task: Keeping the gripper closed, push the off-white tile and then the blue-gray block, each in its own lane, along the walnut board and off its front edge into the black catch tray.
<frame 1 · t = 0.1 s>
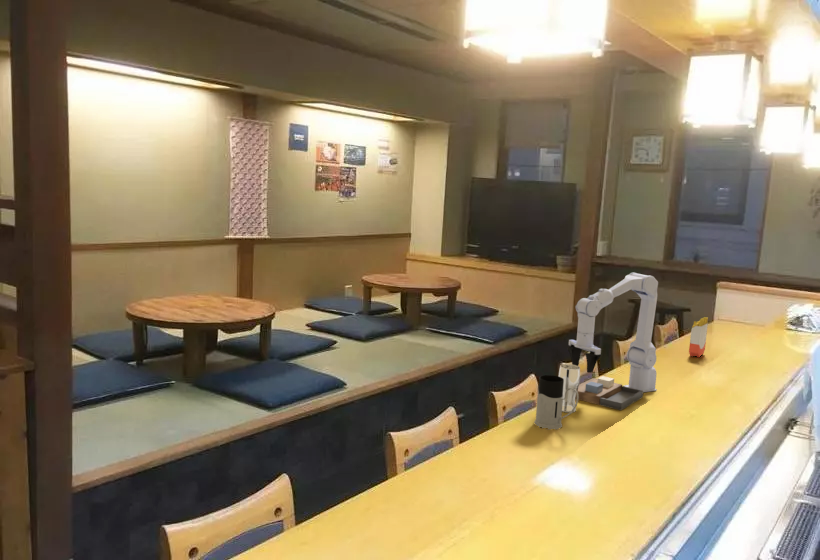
hand: (582, 369, 245), 10 cm above the counter, tool pointing down, fingers open, 7 cm apart
blue-gray block: (593, 390, 244), point 3 cm above the counter, touching walnut board
french fries container: (696, 356, 315), on the counter
catch tray: (621, 401, 243), on the counter
walnut board: (595, 394, 249), on the counter
grey black mug: (555, 427, 214), on the counter
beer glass: (566, 410, 231), on the counter
white tile: (605, 385, 251), point 3 cm above the counter, touching walnut board
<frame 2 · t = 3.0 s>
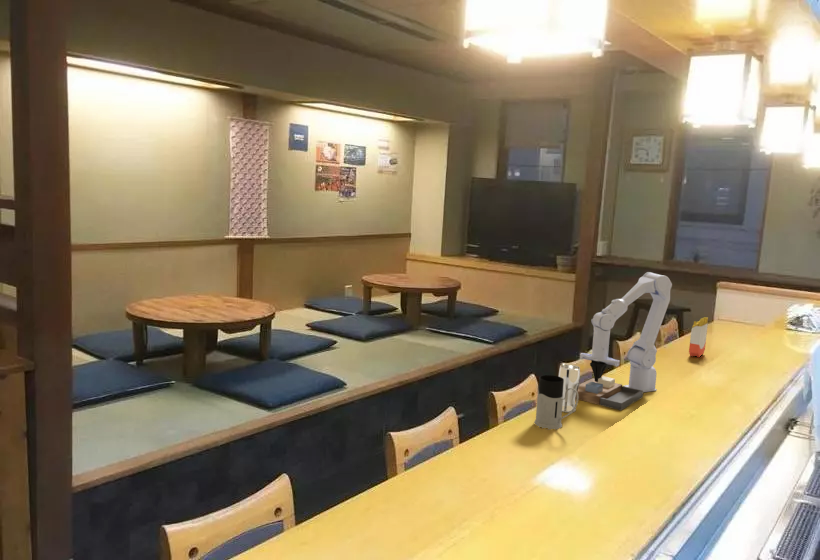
hand: (597, 381, 253), 4 cm above the counter, tool pointing down, fingers closed
white tile: (606, 385, 251), point 3 cm above the counter, touching gripper, walnut board
everything else where it was.
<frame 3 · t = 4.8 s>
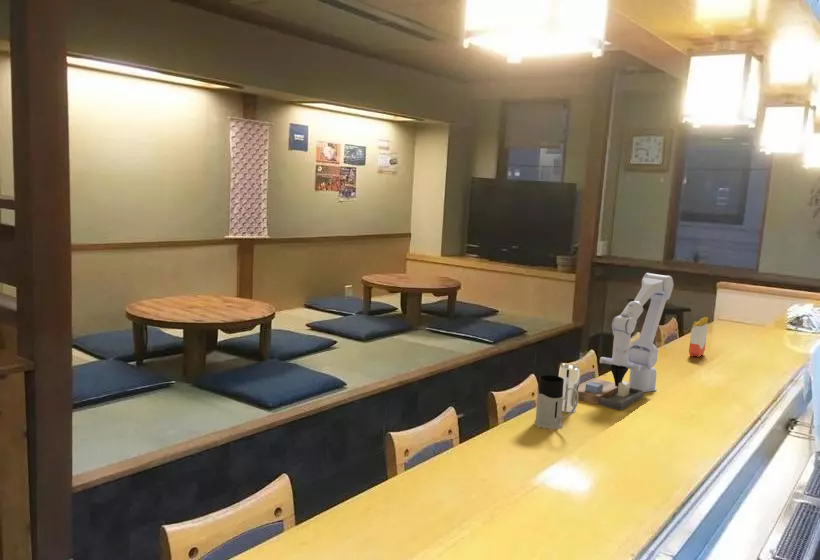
hand: (617, 385, 248), 4 cm above the counter, tool pointing down, fingers closed
white tile: (620, 388, 248), point 3 cm above the counter, tilted 91°, touching catch tray, gripper
everything else where it was.
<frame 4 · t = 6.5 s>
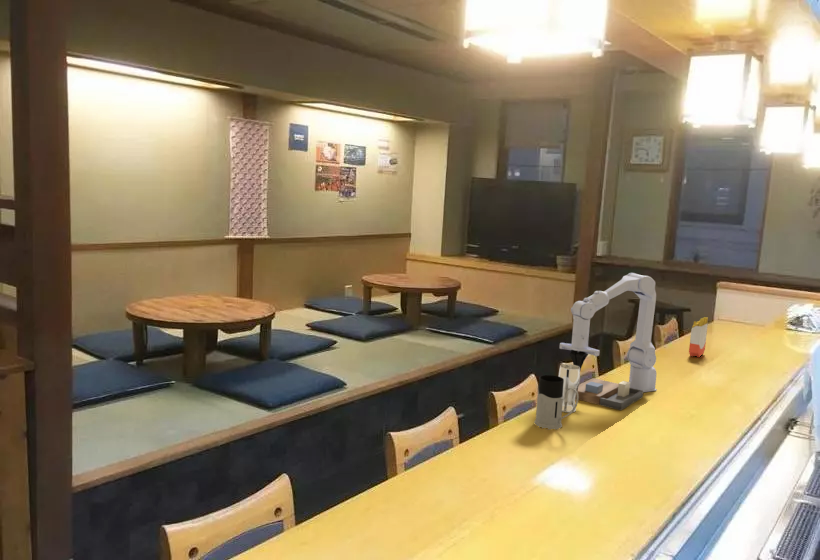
hand: (577, 371, 247), 9 cm above the counter, tool pointing down, fingers closed
white tile: (620, 388, 248), point 3 cm above the counter, tilted 90°, touching catch tray
everything else where it was.
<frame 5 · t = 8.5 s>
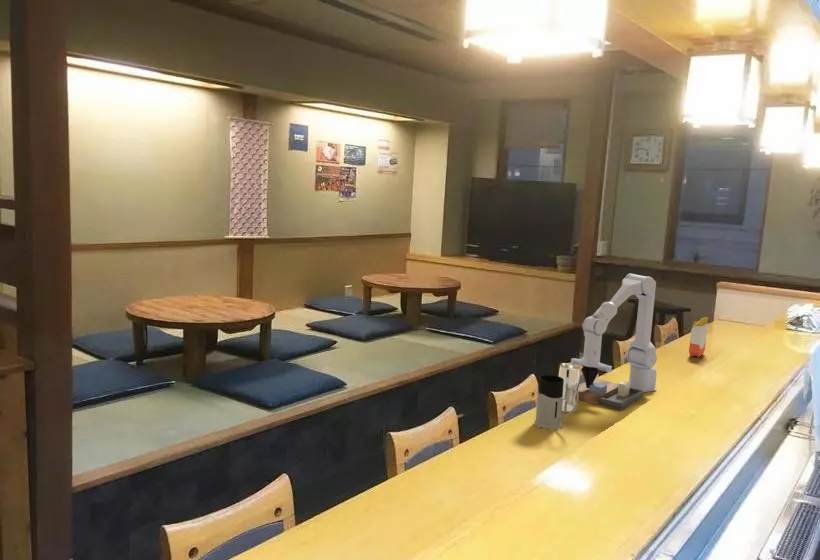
hand: (589, 387, 245), 4 cm above the counter, tool pointing down, fingers closed
blue-gray block: (597, 391, 243), point 3 cm above the counter, touching gripper
everything else where it was.
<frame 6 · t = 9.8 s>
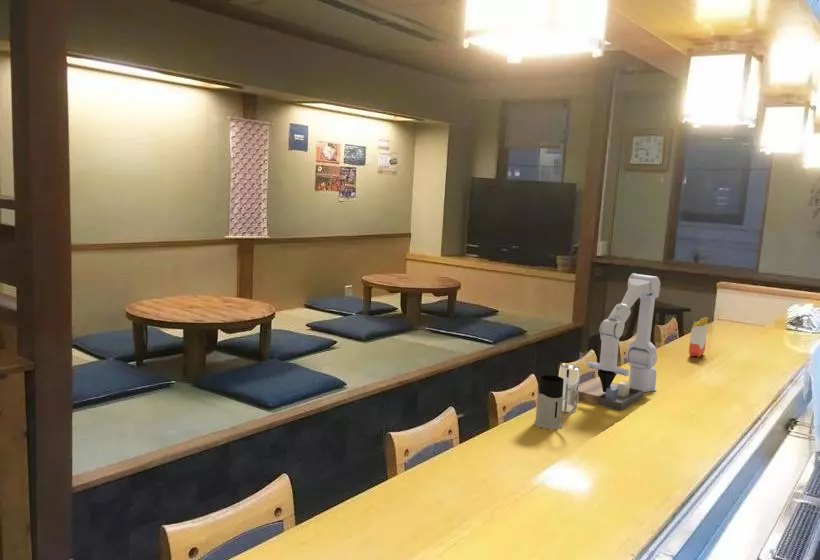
hand: (605, 391, 241), 4 cm above the counter, tool pointing down, fingers closed
blue-gray block: (608, 392, 240), point 4 cm above the counter, tilted 98°, touching catch tray, gripper
everything else where it was.
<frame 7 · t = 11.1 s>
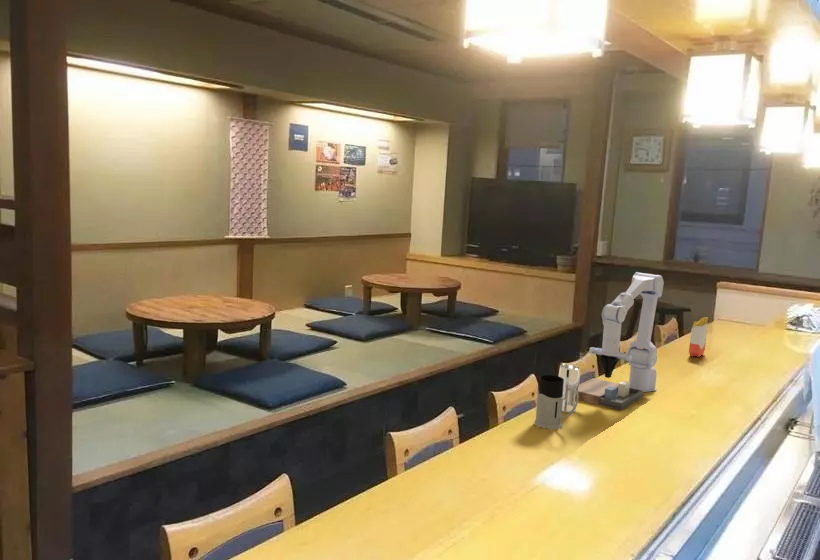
hand: (608, 377, 240), 9 cm above the counter, tool pointing down, fingers closed
blue-gray block: (607, 393, 240), point 3 cm above the counter, tilted 90°, touching catch tray
everything else where it was.
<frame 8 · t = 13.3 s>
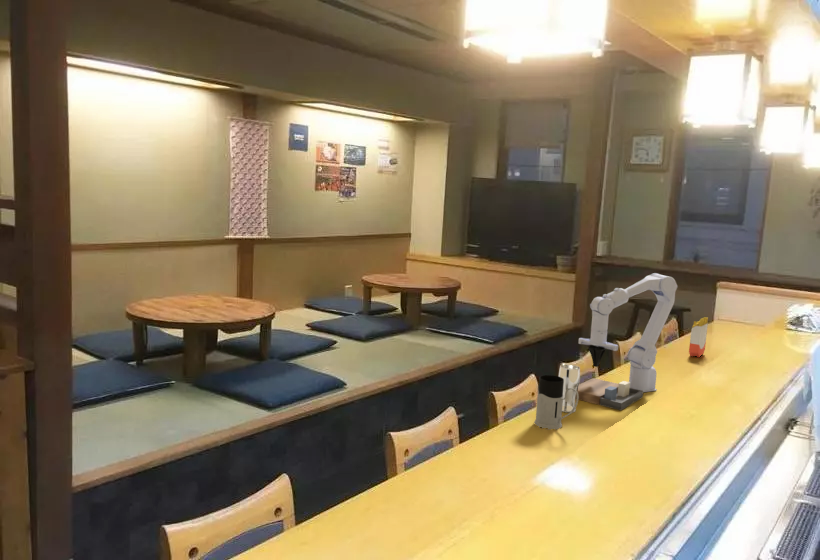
hand: (596, 366, 253), 9 cm above the counter, tool pointing down, fingers closed
nothing on the counter moved.
at the end: white tile touching catch tray; blue-gray block touching catch tray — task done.
